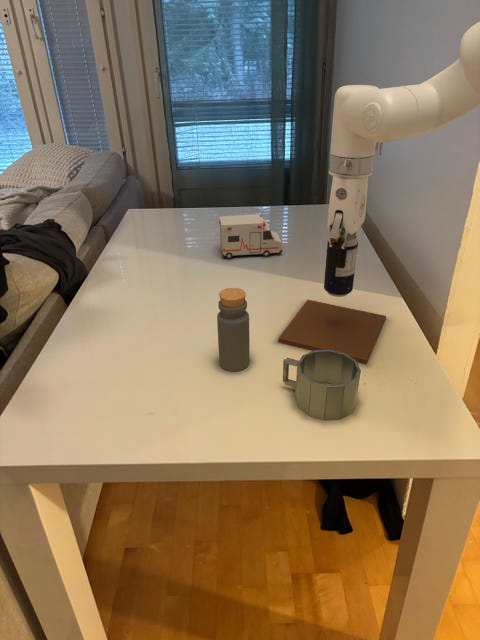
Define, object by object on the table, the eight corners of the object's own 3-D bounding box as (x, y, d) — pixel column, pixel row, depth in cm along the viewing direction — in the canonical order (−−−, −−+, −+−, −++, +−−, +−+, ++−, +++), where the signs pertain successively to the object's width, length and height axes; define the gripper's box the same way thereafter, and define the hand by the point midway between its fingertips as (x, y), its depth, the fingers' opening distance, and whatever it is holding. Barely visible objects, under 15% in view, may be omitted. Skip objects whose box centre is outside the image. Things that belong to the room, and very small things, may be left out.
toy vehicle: (282, 257, 132) (284, 223, 127) (222, 260, 131) (220, 226, 125) (276, 244, 140) (277, 212, 135) (219, 247, 139) (218, 215, 134)
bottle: (241, 350, 93) (240, 283, 85) (255, 366, 88) (254, 296, 81) (214, 358, 91) (210, 290, 83) (227, 375, 86) (224, 304, 78)
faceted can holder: (361, 390, 82) (366, 358, 78) (346, 427, 74) (350, 393, 71) (292, 371, 87) (294, 340, 83) (271, 404, 79) (272, 371, 76)
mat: (385, 319, 102) (386, 315, 101) (366, 364, 88) (367, 360, 88) (307, 303, 109) (307, 299, 108) (278, 342, 95) (278, 338, 95)
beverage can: (353, 287, 95) (360, 232, 89) (349, 300, 91) (356, 242, 85) (326, 284, 97) (331, 229, 91) (321, 296, 92) (325, 239, 86)
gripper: (360, 178, 73) (348, 282, 82) (383, 156, 86) (370, 247, 95) (314, 174, 76) (308, 274, 85) (343, 153, 89) (334, 242, 98)
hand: (341, 259), depth 90 cm, fingers closed on beverage can, 5 cm apart
